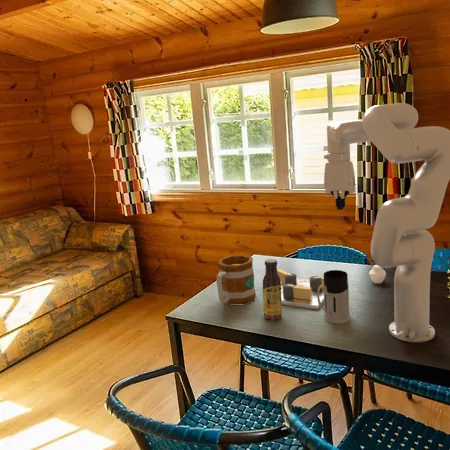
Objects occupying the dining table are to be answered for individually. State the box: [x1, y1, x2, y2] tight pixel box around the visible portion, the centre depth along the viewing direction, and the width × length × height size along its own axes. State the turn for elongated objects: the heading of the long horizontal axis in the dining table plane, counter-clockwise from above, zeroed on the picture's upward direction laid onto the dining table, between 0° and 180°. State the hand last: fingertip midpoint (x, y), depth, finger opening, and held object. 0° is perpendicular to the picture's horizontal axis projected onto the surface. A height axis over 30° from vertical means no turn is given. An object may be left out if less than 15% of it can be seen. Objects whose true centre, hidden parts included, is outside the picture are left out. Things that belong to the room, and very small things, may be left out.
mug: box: [216, 254, 256, 305], centre depth 167 cm, size 20×14×15 cm
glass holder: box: [317, 269, 352, 324], centre depth 145 cm, size 9×14×15 cm, turn 133°
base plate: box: [281, 277, 324, 311], centre depth 169 cm, size 22×20×4 cm
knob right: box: [309, 275, 324, 291], centre depth 168 cm, size 10×4×4 cm, turn 87°
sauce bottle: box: [262, 258, 283, 321], centre depth 150 cm, size 6×6×20 cm
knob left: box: [277, 269, 297, 286], centre depth 176 cm, size 10×4×4 cm, turn 26°
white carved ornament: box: [368, 264, 387, 284], centre depth 173 cm, size 6×6×7 cm
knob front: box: [283, 284, 312, 300], centre depth 162 cm, size 10×4×4 cm, turn 59°
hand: (340, 208), depth 163 cm, fingers closed
